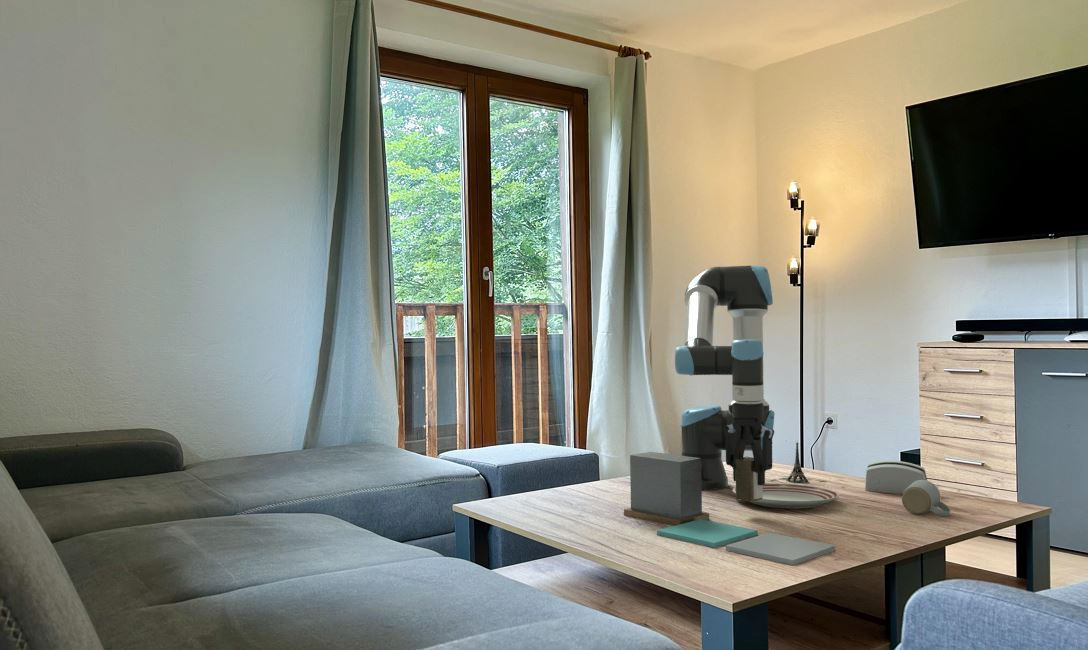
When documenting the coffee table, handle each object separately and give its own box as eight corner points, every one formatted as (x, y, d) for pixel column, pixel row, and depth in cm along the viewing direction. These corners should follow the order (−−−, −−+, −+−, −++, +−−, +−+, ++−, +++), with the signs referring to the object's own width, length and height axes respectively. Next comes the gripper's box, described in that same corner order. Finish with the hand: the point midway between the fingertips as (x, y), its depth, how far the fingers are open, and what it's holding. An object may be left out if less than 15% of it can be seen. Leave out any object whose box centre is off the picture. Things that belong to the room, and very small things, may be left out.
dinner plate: (750, 489, 249) (750, 477, 249) (849, 498, 235) (849, 485, 235) (718, 507, 225) (718, 494, 225) (825, 518, 211) (825, 504, 211)
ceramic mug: (899, 513, 213) (900, 482, 213) (908, 507, 220) (908, 477, 220) (946, 519, 207) (946, 487, 207) (953, 513, 214) (953, 482, 213)
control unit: (623, 515, 216) (623, 455, 216) (652, 508, 223) (652, 450, 223) (680, 527, 202) (679, 463, 202) (709, 519, 210) (708, 458, 210)
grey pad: (725, 550, 181) (725, 545, 181) (769, 537, 192) (769, 532, 192) (793, 565, 169) (792, 560, 169) (835, 550, 180) (835, 545, 180)
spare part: (736, 499, 213) (735, 458, 213) (746, 496, 216) (746, 456, 216) (751, 502, 209) (750, 461, 209) (762, 499, 212) (761, 458, 212)
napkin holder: (930, 492, 239) (928, 460, 236) (928, 501, 236) (926, 468, 233) (867, 487, 248) (865, 456, 245) (864, 495, 244) (861, 464, 241)
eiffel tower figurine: (829, 483, 258) (829, 438, 258) (817, 488, 250) (816, 442, 250) (781, 478, 268) (781, 435, 267) (768, 483, 260) (767, 438, 260)
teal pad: (656, 534, 195) (656, 530, 195) (700, 523, 206) (700, 519, 206) (714, 547, 183) (714, 542, 183) (757, 534, 194) (757, 530, 194)
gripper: (709, 400, 216) (710, 493, 217) (769, 405, 203) (771, 504, 204) (727, 398, 221) (728, 489, 222) (787, 403, 208) (788, 499, 209)
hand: (749, 496), depth 213 cm, fingers closed on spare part, 4 cm apart
